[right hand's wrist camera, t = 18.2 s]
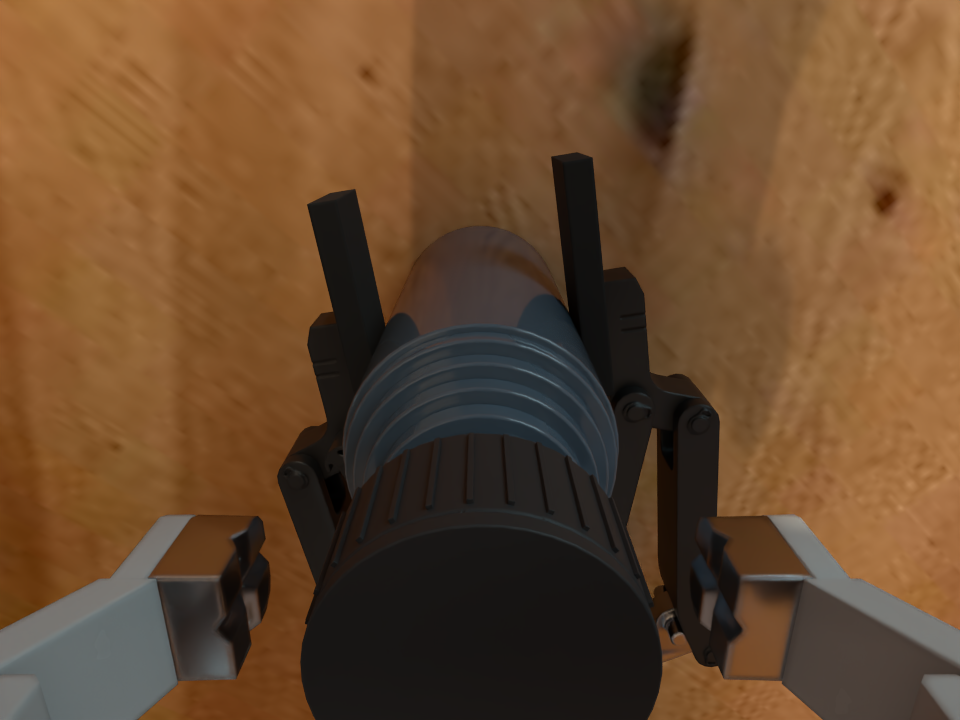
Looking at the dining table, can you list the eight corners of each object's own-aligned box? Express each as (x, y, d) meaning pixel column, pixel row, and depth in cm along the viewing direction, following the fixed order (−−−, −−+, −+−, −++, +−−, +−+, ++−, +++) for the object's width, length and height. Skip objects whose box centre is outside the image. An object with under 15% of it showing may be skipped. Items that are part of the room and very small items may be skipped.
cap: (536, 372, 9) (553, 452, 7) (676, 597, 11) (729, 724, 8) (276, 517, 10) (218, 629, 8) (437, 709, 11) (427, 850, 9)
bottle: (581, 323, 25) (770, 700, 9) (458, 395, 26) (422, 849, 10) (505, 195, 24) (562, 368, 7) (375, 277, 25) (170, 592, 8)
